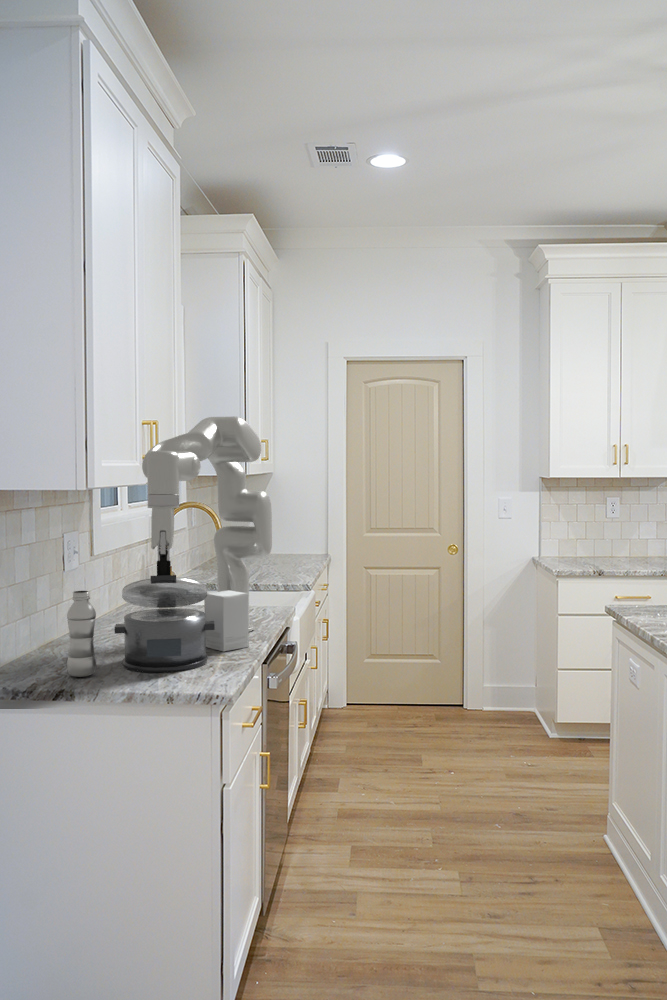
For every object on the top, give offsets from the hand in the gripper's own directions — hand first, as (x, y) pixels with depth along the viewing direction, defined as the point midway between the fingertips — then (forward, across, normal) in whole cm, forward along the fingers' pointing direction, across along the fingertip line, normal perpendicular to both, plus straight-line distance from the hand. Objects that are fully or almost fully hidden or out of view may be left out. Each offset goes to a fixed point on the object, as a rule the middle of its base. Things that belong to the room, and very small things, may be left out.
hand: (163, 577), depth 191 cm
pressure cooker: (+22, -7, 0) cm, 24 cm away
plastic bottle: (+23, +2, -19) cm, 30 cm away
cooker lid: (+5, -7, 0) cm, 9 cm away
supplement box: (+22, -22, +16) cm, 36 cm away
